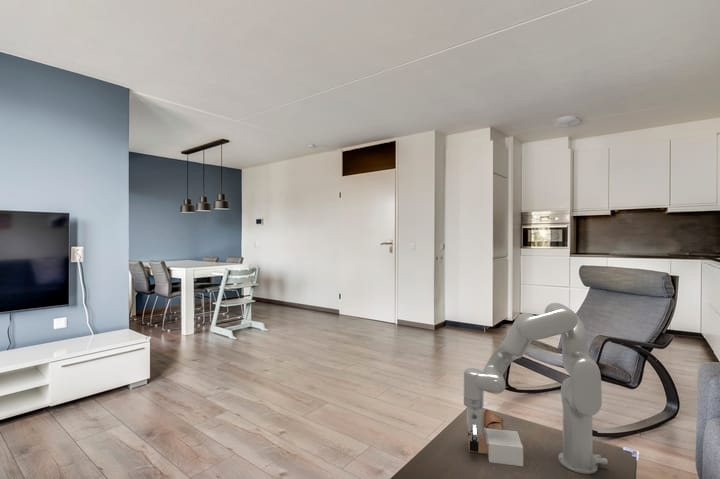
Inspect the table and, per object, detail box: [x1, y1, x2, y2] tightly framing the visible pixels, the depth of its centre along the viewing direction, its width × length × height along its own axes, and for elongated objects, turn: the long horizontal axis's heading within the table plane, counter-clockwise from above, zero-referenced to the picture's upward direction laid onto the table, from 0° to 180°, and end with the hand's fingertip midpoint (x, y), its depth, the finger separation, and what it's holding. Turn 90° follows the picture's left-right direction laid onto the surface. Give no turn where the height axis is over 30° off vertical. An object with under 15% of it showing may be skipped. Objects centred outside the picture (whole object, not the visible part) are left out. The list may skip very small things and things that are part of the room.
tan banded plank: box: [468, 435, 488, 455], centre depth 146 cm, size 13×2×6 cm, turn 77°
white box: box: [483, 427, 524, 467], centre depth 145 cm, size 13×12×7 cm
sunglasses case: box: [483, 409, 504, 430], centre depth 168 cm, size 18×7×7 cm
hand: (473, 444), depth 147 cm, fingers open, 9 cm apart
